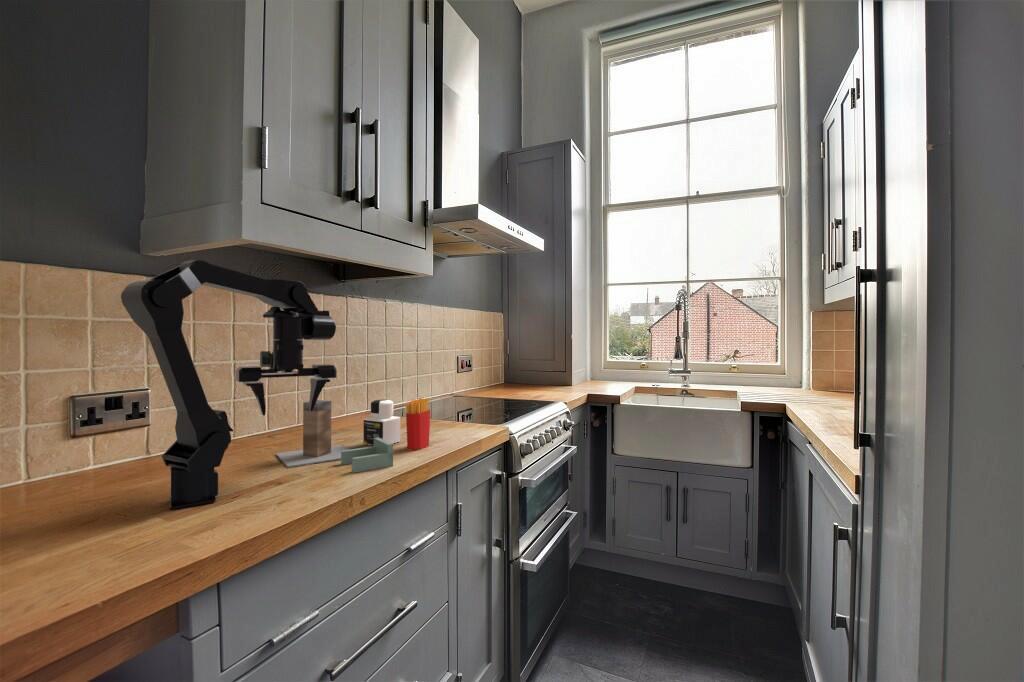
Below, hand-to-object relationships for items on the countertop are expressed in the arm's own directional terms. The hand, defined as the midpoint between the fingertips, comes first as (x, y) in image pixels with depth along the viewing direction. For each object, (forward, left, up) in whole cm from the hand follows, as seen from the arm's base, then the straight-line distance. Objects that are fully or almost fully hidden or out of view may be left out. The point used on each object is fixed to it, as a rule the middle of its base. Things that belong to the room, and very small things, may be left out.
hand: (287, 413), depth 98 cm
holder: (+16, -3, -13) cm, 21 cm away
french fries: (+33, +6, -13) cm, 36 cm away
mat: (+9, +12, -13) cm, 20 cm away
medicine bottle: (+27, +16, -13) cm, 34 cm away
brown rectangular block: (+9, +12, -13) cm, 20 cm away
